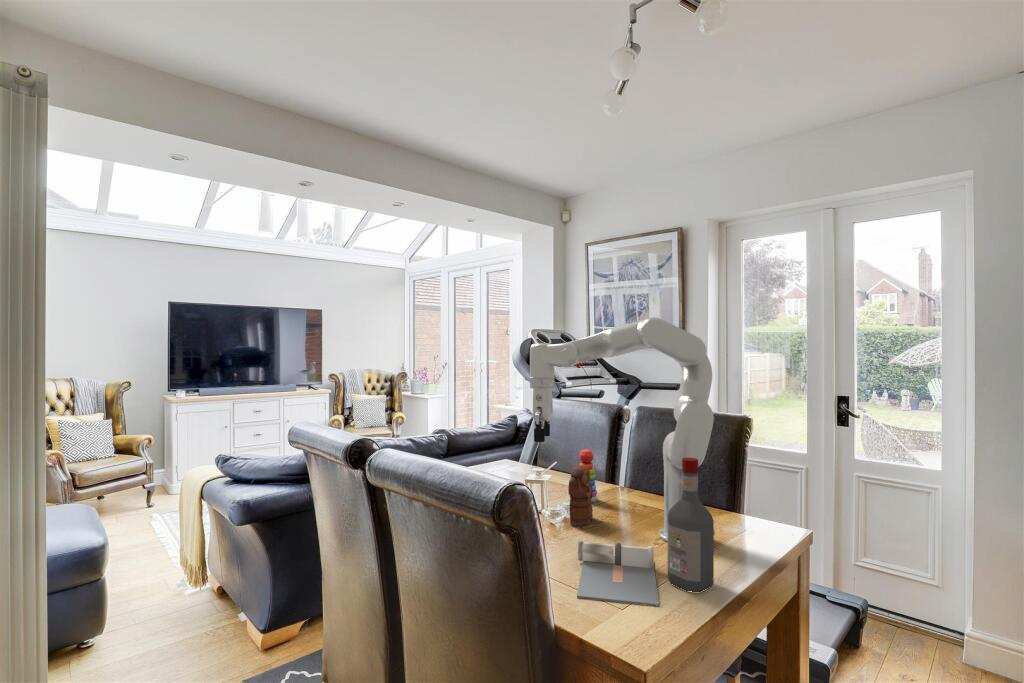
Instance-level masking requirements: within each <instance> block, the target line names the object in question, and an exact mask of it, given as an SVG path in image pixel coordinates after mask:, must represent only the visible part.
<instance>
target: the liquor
mask: <svg viewBox="0 0 1024 683" xmlns="http://www.w3.org/2000/svg"><path fill="white" fill-rule="evenodd" d="M682 472H683V493H682V495H681V499H680V500H679V501H678V502H677V503H676V504H675V505H674V506H673V507H672V508H671V509H670V510H669V512H668V542H667V578H668V581H669V584H670V585H671V584H673V585H675V586H674V587H676V586H677V587H676V588H678V587H679V588H678V589H680V588H682V589H684V590H686V591H685V592H687V591H692V592H701V591H703V590H705V589H707V588H709V587H711V588H712V587H713V586H714V572H715V571H714V570H715V567H714V565H715V564H714V563H715V562H714V561H715V560H714V555H715V554H714V538H715V537H714V536H715V535H714V529H715V528H714V527H715V526H714V525H715V524H714V521H715V520H714V519H713V515H712V513H711V512H710V511H709V510H708V509H707V507H706V506H705V505H704V504H703V503H702V501H701V500H700V496H699V490H698V487H699V479H698V478H699V467H698V459H696V458H682ZM697 473H698V475H697ZM673 585H672V586H673ZM682 589H681V590H682ZM709 589H710V588H709ZM684 590H683V591H684ZM707 590H708V589H707ZM705 591H706V590H705ZM692 592H691V593H692ZM703 592H704V591H703ZM701 593H702V592H701Z"/></svg>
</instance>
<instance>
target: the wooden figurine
mask: <svg viewBox="0 0 1024 683" xmlns="http://www.w3.org/2000/svg"><path fill="white" fill-rule="evenodd" d="M567 486H568V488H567V489H568V490H567V491H568V496H569V498H570V499H569V523H570V526H573V527H584V526H588V525H590V524H591V521H592V520H593V511H594V510H593V502H592V501H591V499H592V486H591V479H590V471H589V469H588V468H587V467H586V466H582V465H580V464H579V465H576V466H574V467H573V468H572V470H571V473H570V479H569V480H568V485H567Z"/></svg>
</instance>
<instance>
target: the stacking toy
mask: <svg viewBox="0 0 1024 683" xmlns="http://www.w3.org/2000/svg"><path fill="white" fill-rule="evenodd" d="M578 455H579V459H580V461H581V462H580V463H579V465H582V466H586V467H587V468H588V469H589V471H590V479H591V486H592V499H591V501H592V503H594V502H596V501H598V495H597V494H598V490H597V485H596V479H595V478H596V475H595V468H594V463H593V462H592V461H594V460H593V459H594V452H592V450H590V449H587V448H585V449H582V450H581V451H580V453H579V454H578Z"/></svg>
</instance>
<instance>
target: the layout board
mask: <svg viewBox="0 0 1024 683" xmlns="http://www.w3.org/2000/svg"><path fill="white" fill-rule="evenodd" d="M654 551H655V550H654V546H651V545H648V546H647V547H646V546H635V545H622V543H621V542H615V543H614V555H613V563H602V562H591V561H582V566H581V572H580V577H579V582H578V587H577V593H576V598H577V599H583V598H587V599H586V600H592V599H596V600H595V601H602V600H603V601H605V602H611V601H612V602H611V603H614V602H615V603H623V604H630V603H631V605H632V604H634V605H640V604H646V605H645V606H649V605H657V606H656V607H660V604H659V602H660V601H659V596H658V595H659V594H658V588H657V580H656V573H655V565H654V563H655V562H654V561H655V560H654Z"/></svg>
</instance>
